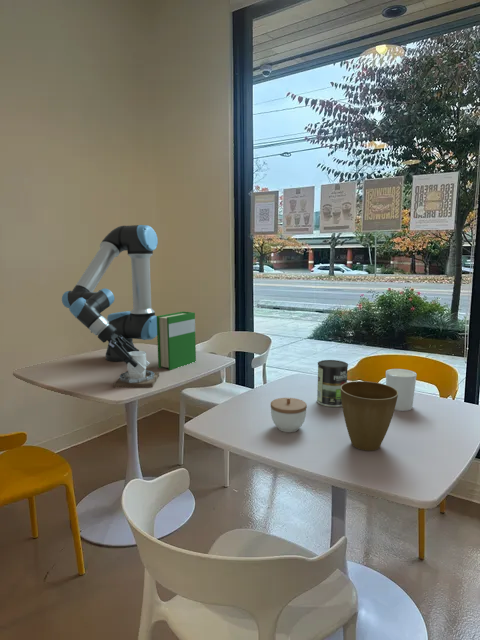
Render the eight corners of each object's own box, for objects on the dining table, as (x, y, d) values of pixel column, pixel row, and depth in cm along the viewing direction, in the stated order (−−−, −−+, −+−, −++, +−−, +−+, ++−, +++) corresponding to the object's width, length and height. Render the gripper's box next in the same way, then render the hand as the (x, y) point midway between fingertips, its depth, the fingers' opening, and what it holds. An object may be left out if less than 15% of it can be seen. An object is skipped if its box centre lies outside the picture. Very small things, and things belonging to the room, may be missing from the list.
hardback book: (170, 370, 193) (168, 317, 189) (158, 367, 197) (156, 316, 193) (195, 361, 207) (194, 312, 203) (184, 359, 211) (183, 311, 207)
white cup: (149, 374, 179) (148, 351, 178) (143, 380, 172) (142, 355, 170) (131, 374, 180) (130, 350, 179) (124, 379, 172) (123, 355, 171)
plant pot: (339, 455, 112) (341, 396, 109) (337, 432, 126) (339, 379, 124) (399, 460, 109) (403, 400, 107) (390, 435, 124) (393, 382, 121)
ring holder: (123, 376, 184) (123, 369, 183) (159, 376, 184) (158, 369, 183) (114, 387, 169) (113, 380, 168) (152, 387, 169) (152, 379, 168)
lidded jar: (313, 428, 129) (314, 398, 128) (290, 439, 122) (291, 407, 120) (285, 418, 137) (286, 390, 135) (263, 428, 130) (263, 398, 128)
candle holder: (417, 405, 148) (419, 371, 146) (410, 414, 140) (412, 378, 138) (388, 399, 153) (390, 367, 151) (380, 408, 145) (382, 373, 143)
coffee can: (352, 403, 150) (354, 364, 148) (331, 409, 144) (332, 368, 142) (331, 395, 158) (332, 358, 156) (310, 400, 153) (311, 362, 151)
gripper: (104, 331, 183) (144, 367, 186) (88, 341, 163) (133, 382, 166) (116, 319, 182) (156, 355, 185) (102, 327, 162) (146, 368, 165)
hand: (145, 368), depth 175 cm, fingers closed on white cup, 8 cm apart
